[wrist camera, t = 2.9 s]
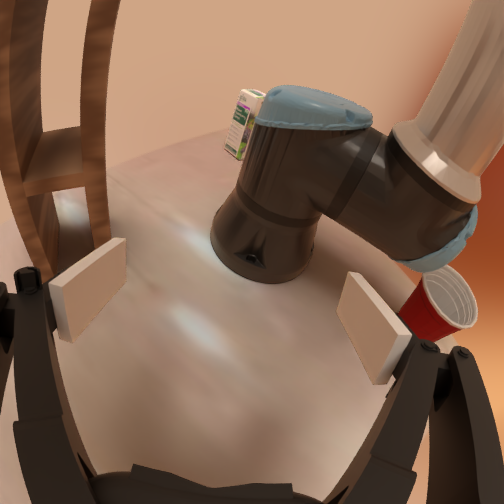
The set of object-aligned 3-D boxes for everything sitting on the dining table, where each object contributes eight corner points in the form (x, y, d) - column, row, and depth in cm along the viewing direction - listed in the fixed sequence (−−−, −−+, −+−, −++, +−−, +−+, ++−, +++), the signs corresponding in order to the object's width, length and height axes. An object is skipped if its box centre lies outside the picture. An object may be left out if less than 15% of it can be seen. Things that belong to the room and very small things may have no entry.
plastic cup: (370, 299, 40) (418, 248, 31) (417, 313, 41) (464, 270, 32) (376, 364, 32) (439, 319, 24) (427, 370, 33) (485, 331, 25)
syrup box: (222, 148, 58) (239, 88, 48) (242, 145, 62) (259, 89, 52) (238, 161, 56) (258, 98, 46) (258, 157, 60) (278, 99, 49)
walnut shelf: (109, 216, 36) (132, -42, 12) (116, 273, 31) (140, -67, 6) (47, 226, 32) (38, -30, 7) (43, 285, 26) (4, -42, 2)
